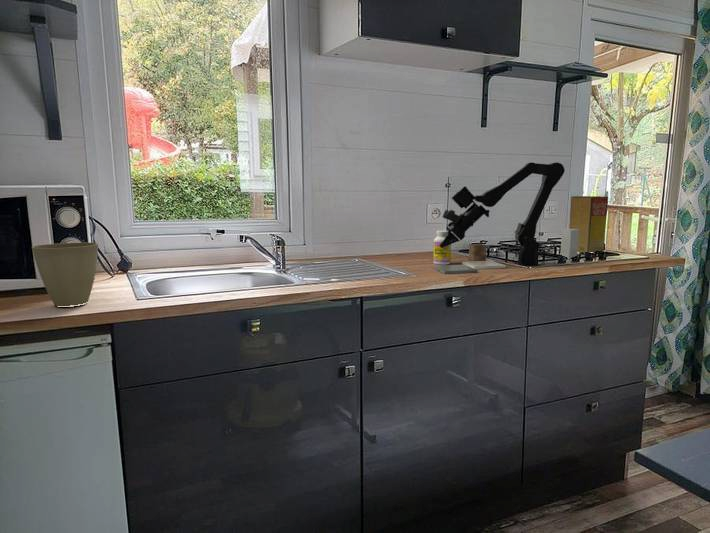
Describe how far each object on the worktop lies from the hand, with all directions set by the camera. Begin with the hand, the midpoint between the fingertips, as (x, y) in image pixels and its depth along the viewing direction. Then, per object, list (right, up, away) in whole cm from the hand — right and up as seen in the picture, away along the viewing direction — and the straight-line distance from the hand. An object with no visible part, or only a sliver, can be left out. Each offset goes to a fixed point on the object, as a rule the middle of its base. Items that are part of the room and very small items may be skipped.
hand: (439, 245), depth 191 cm
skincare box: (+55, -5, +11) cm, 56 cm away
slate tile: (+3, -10, -15) cm, 18 cm away
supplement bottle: (+1, -7, +1) cm, 7 cm away
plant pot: (-108, -19, -62) cm, 125 cm away
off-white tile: (+15, -8, -6) cm, 18 cm away
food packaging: (+70, -2, +29) cm, 76 cm away
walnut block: (+16, -6, +4) cm, 17 cm away
